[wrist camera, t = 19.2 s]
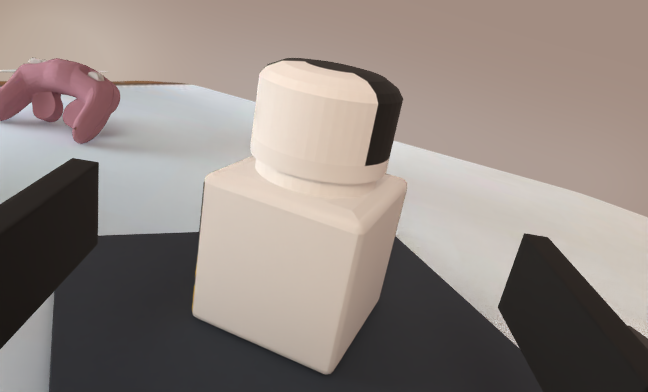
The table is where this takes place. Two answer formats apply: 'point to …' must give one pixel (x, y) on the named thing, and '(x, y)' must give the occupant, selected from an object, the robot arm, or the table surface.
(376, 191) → the medicine bottle
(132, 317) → the mat
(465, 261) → the table surface
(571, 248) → the table surface
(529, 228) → the table surface
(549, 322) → the robot arm
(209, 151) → the table surface
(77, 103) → the video game controller
